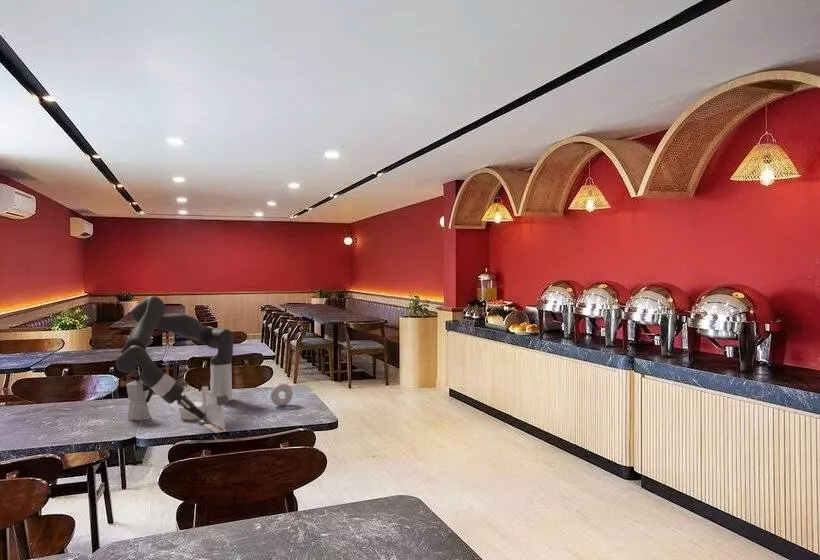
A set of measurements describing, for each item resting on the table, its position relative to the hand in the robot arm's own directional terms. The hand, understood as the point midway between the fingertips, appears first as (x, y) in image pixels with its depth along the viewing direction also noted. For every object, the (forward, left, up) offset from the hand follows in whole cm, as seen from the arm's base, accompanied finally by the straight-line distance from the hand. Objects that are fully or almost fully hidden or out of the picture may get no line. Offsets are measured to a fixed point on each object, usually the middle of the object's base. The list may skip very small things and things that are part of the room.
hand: (203, 416), depth 219 cm
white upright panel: (-3, +6, -5) cm, 8 cm away
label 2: (+2, +5, -6) cm, 8 cm away
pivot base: (-12, +8, -6) cm, 15 cm away
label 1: (-5, +6, -6) cm, 10 cm away
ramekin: (-24, +9, -6) cm, 26 cm away
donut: (-11, +44, -6) cm, 45 cm away
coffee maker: (-39, -6, -6) cm, 40 cm away
